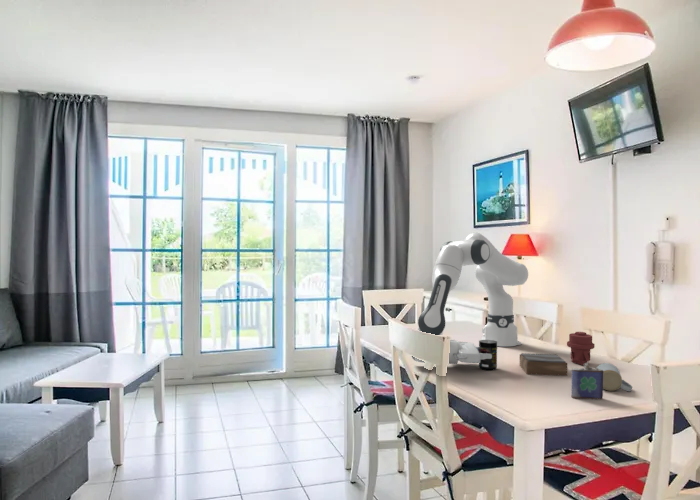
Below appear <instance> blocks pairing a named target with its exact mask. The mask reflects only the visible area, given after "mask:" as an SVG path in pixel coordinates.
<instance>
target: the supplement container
mask: <svg viewBox="0 0 700 500" xmlns="http://www.w3.org/2000/svg"><path fill="white" fill-rule="evenodd" d="M478 347H479V353H491V354H492V358H491V359H483V360H481V359H480V363H478V368H479V369H480V370H483V371H488V372H489V371H490V372H491V371H496V370H497V367H498V346H497V341H494V340H481V339H479V340H478Z"/></svg>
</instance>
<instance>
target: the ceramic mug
mask: <svg viewBox="0 0 700 500" xmlns="http://www.w3.org/2000/svg"><path fill="white" fill-rule="evenodd" d="M596 368H598V369H601V370H603V390H605V391H608V392H615V391H617V390H619V389H622V390H624V391H627V392H631V391H632V390H633V386H632V385H631V384H630V383H628V382H627V381H626V380H624V379H623V378H622V375H621V372H620V370H619V368H618V367H617V366H615V365H614V364H612V363H610V362H604V363H603V362H602V363H600V364H599V365H597V366H596Z"/></svg>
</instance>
